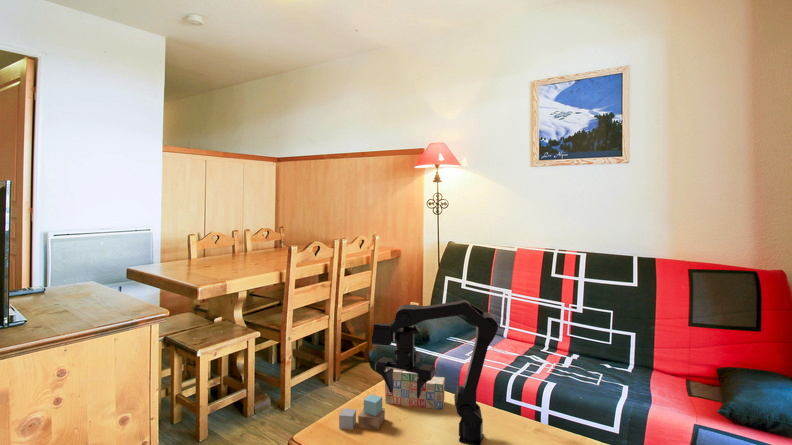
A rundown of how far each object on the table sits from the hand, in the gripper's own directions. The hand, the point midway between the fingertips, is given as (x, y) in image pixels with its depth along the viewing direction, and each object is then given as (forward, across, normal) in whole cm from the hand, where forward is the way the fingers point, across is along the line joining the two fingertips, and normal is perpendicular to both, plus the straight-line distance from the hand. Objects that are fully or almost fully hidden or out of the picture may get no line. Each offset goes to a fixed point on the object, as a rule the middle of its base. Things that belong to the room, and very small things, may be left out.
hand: (404, 395), depth 125 cm
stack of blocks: (+13, +4, -21) cm, 25 cm away
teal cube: (+9, +12, -2) cm, 15 cm away
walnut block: (+13, +12, -2) cm, 18 cm away
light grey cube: (+13, +19, +3) cm, 23 cm away
